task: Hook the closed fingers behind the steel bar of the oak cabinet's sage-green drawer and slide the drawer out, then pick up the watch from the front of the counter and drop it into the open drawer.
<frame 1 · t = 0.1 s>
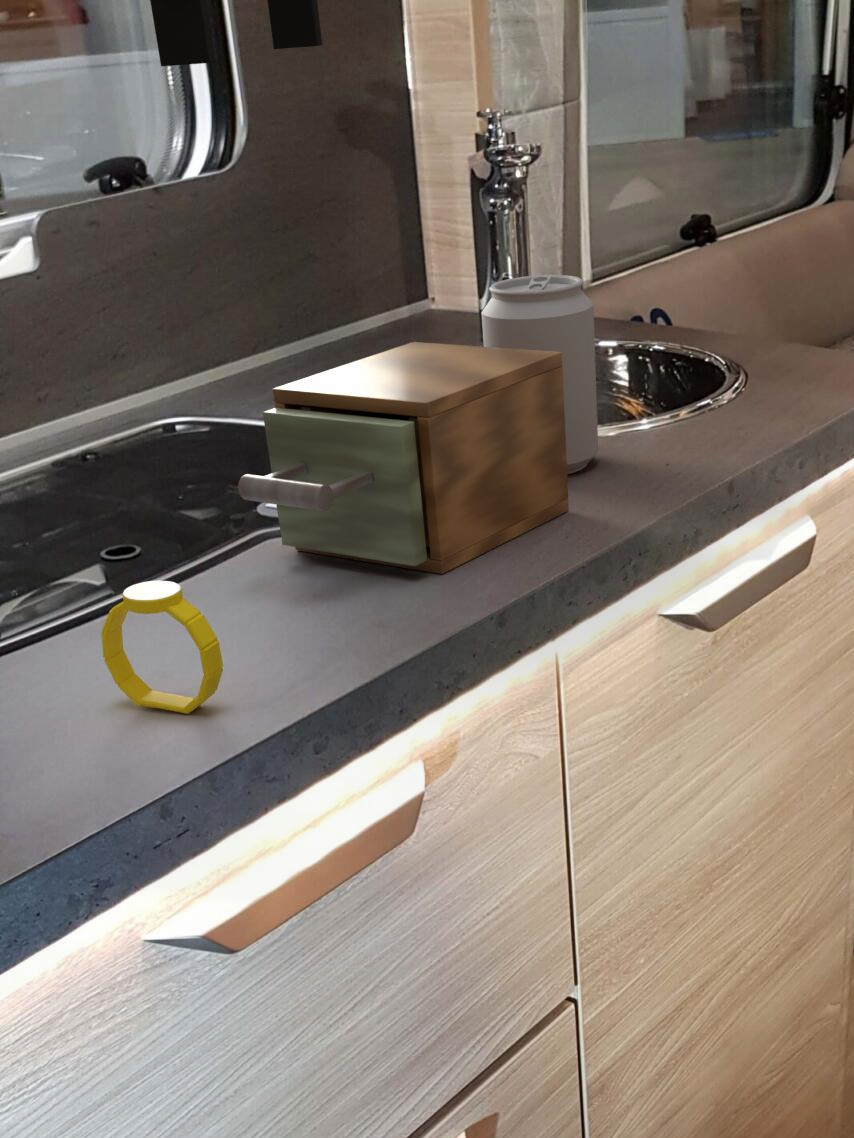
hand: (246, 56, 83), 26 cm above the worktop, tool pointing down, fingers open, 13 cm apart
can: (545, 469, 109), on the worktop
drawer: (378, 472, 92), point 5 cm above the worktop, slide at 0.5 cm
cabinet: (434, 530, 98), on the worktop
watch: (172, 710, 77), on the worktop
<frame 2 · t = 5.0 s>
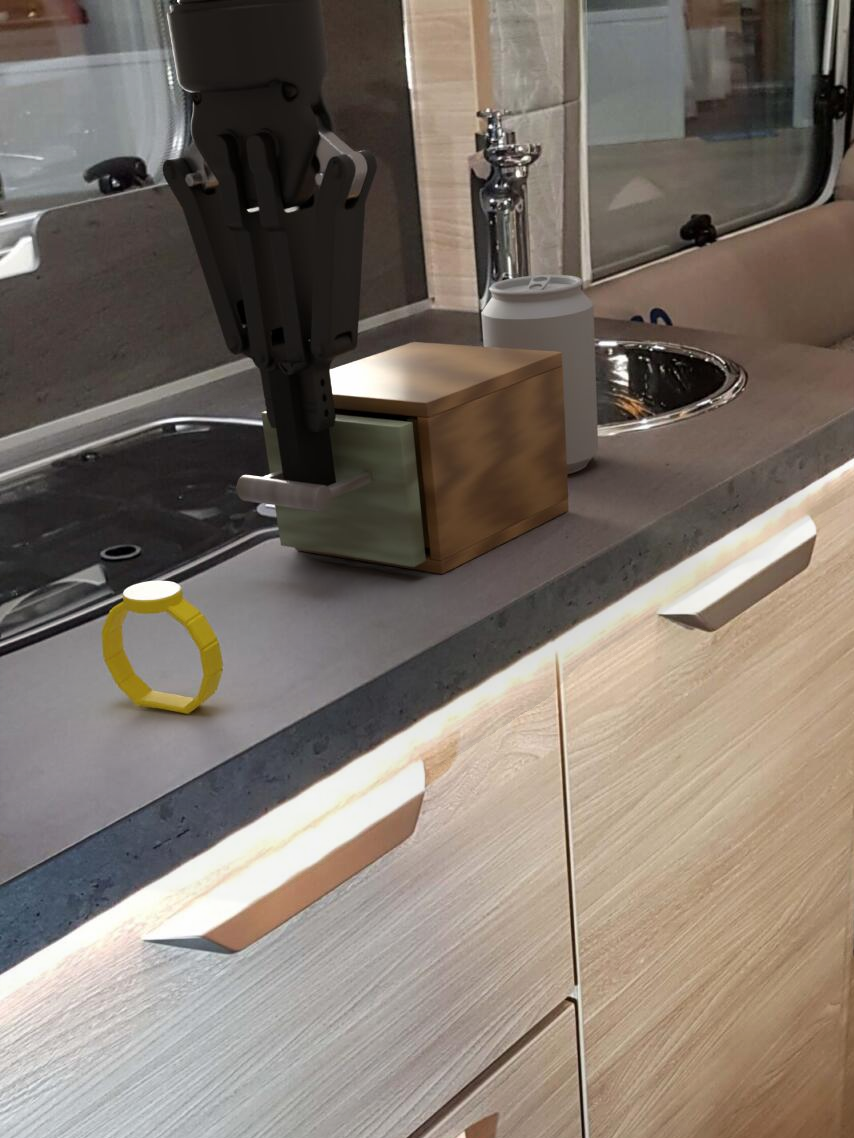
hand: (311, 488, 88), 5 cm above the worktop, tool pointing down, fingers closed
drawer: (376, 473, 92), point 5 cm above the worktop, slide at 0.6 cm, touching gripper
everything else where it was.
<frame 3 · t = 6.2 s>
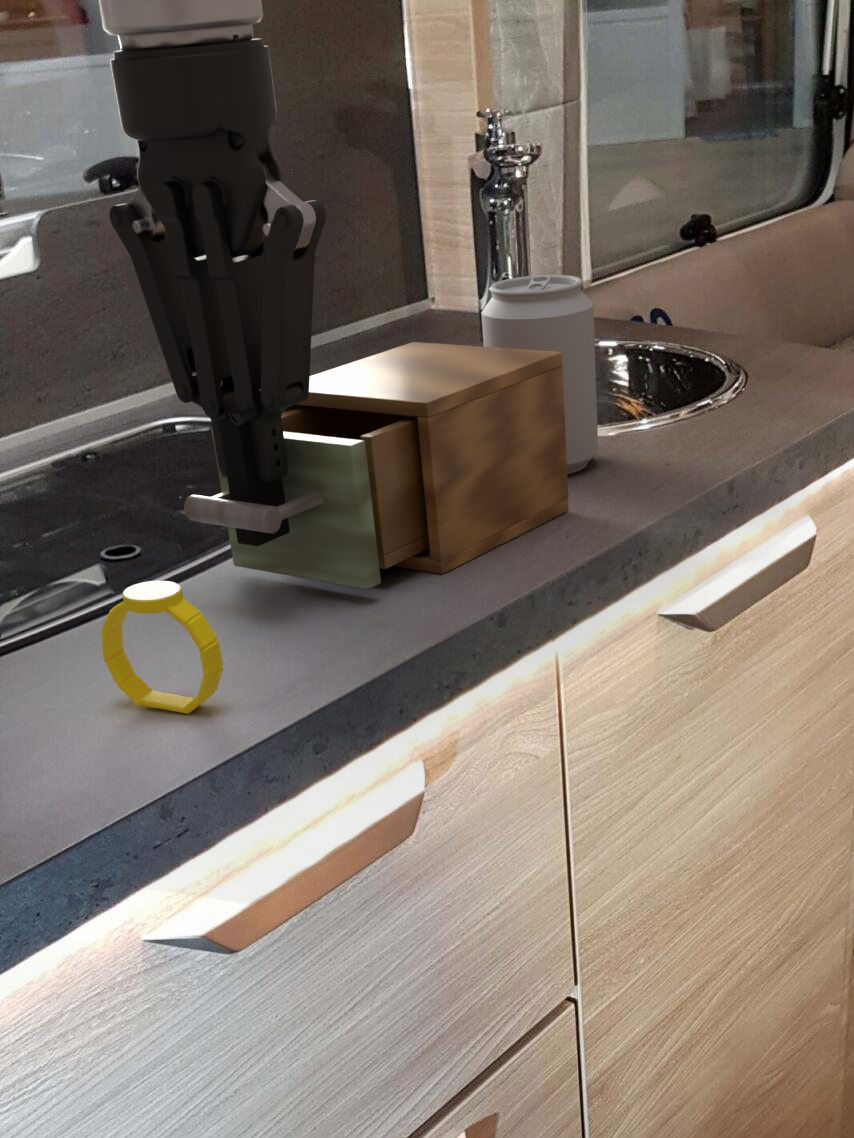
hand: (264, 537, 86), 4 cm above the worktop, tool pointing down, fingers closed
drawer: (331, 491, 89), point 5 cm above the worktop, slide at 4.8 cm, touching gripper
everything else where it was.
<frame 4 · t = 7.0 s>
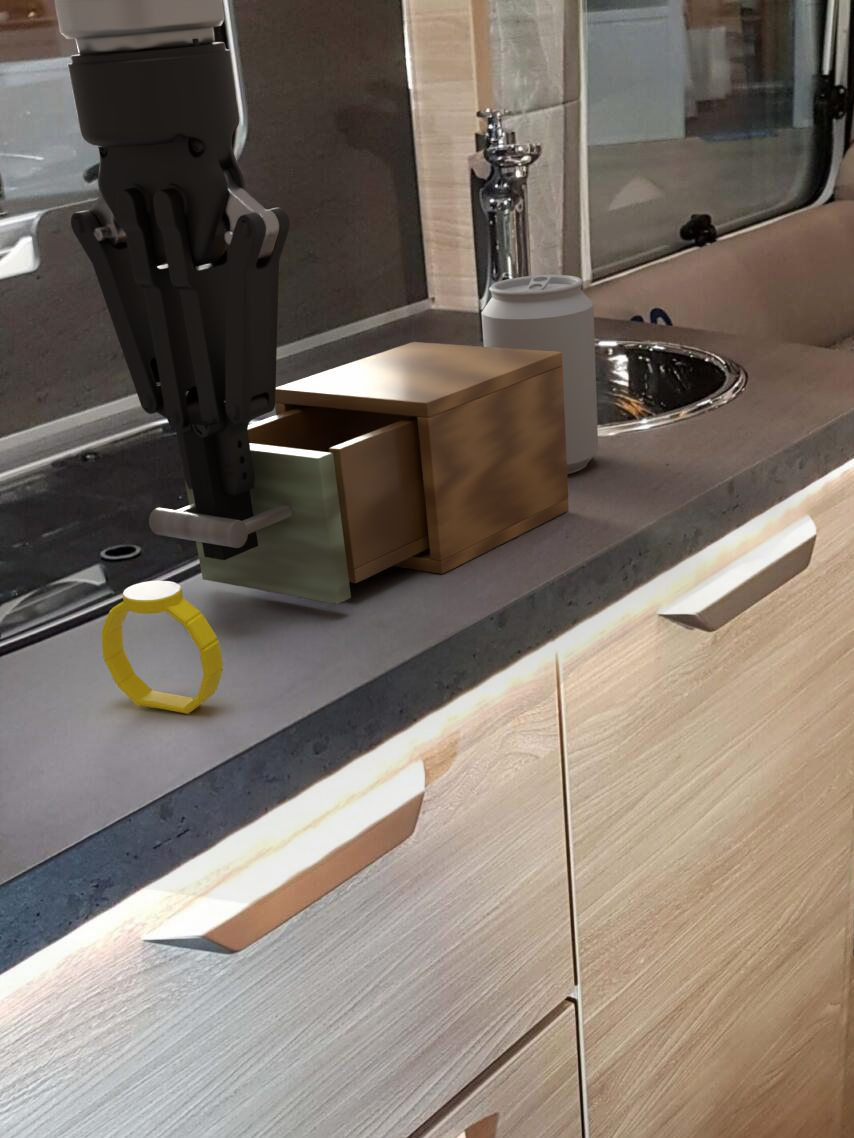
hand: (231, 550, 84), 4 cm above the worktop, tool pointing down, fingers closed
drawer: (301, 504, 88), point 5 cm above the worktop, slide at 7.5 cm, touching gripper
everything else where it was.
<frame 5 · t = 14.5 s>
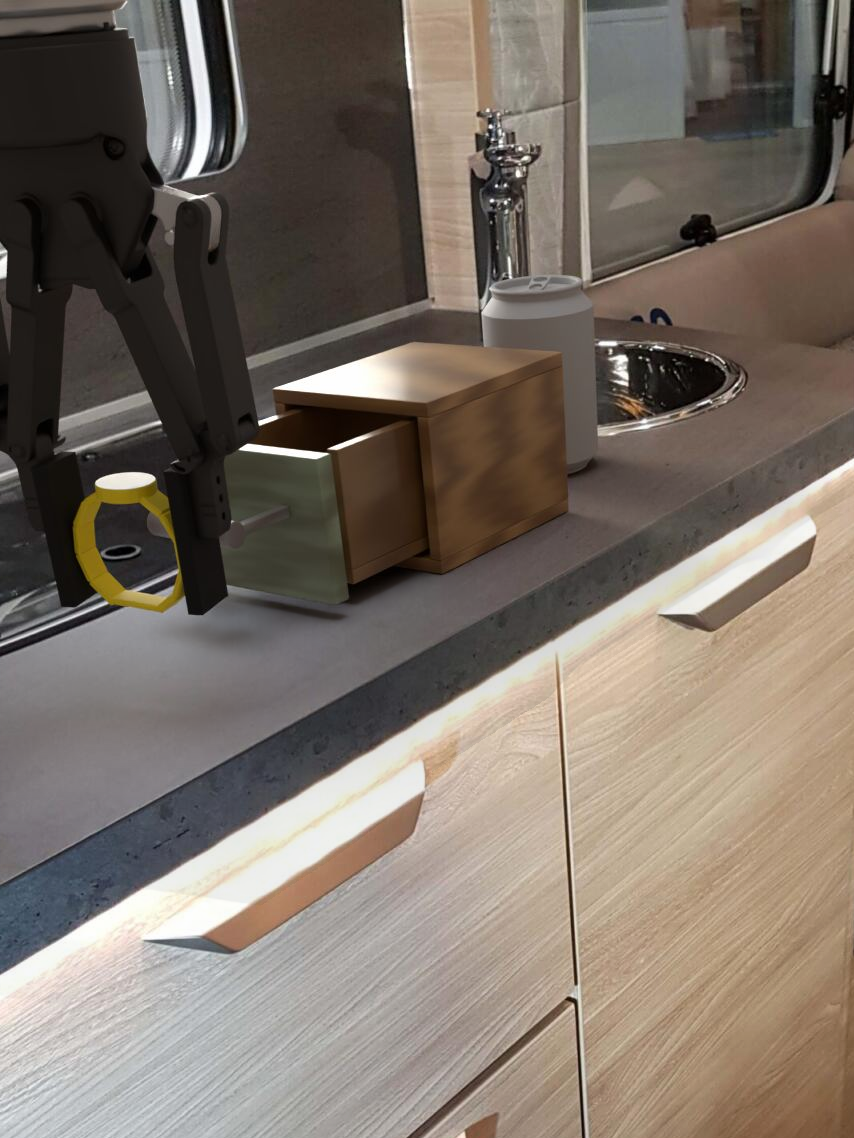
hand: (144, 600, 74), 5 cm above the worktop, tool pointing down, fingers closed on watch, 6 cm apart
drawer: (299, 505, 88), point 5 cm above the worktop, slide at 7.6 cm
watch: (146, 610, 74), point 5 cm above the worktop, touching gripper
everything else where it was.
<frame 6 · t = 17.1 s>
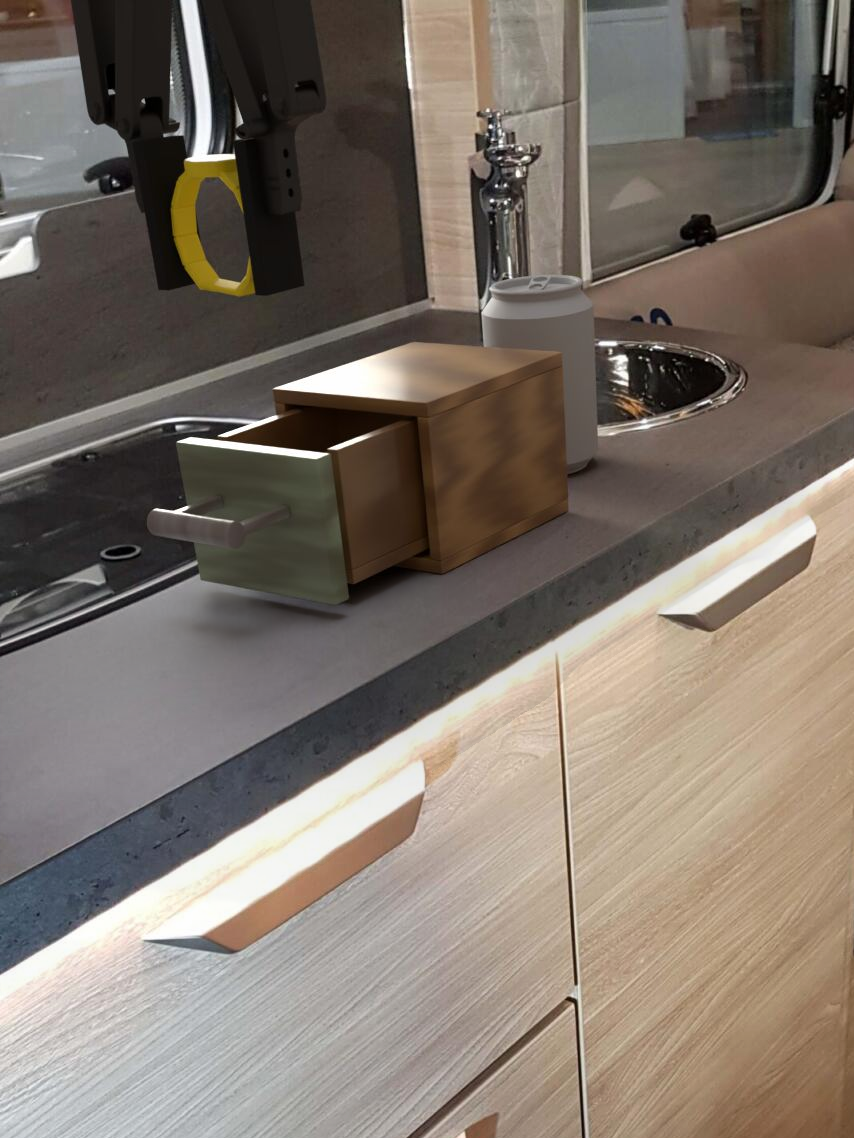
hand: (230, 286, 77), 17 cm above the worktop, tool pointing down, fingers closed on watch, 6 cm apart
watch: (231, 297, 77), point 17 cm above the worktop, touching gripper
everything else where it was.
when the fingers open (9 cm above the worktop, at t = 20.2 s): watch drops 6 cm, resting on drawer.
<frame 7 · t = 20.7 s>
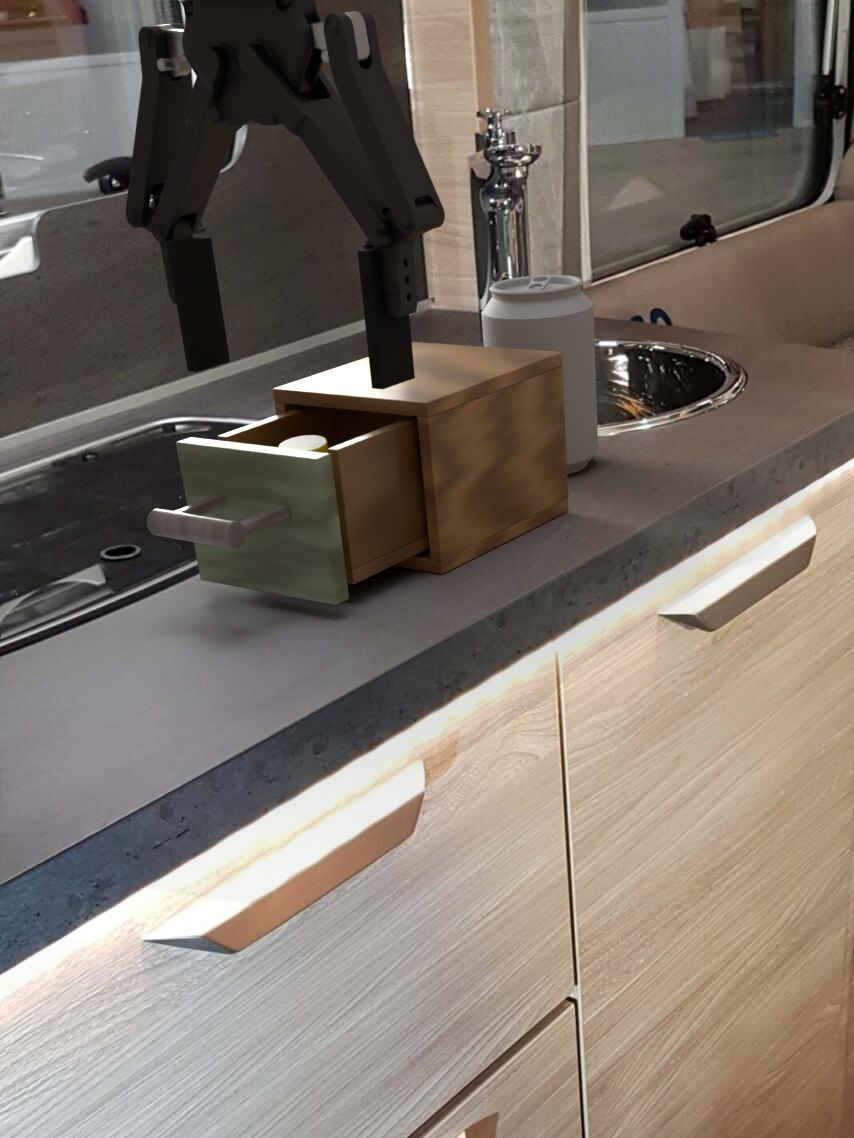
hand: (297, 375, 85), 11 cm above the worktop, tool pointing down, fingers open, 13 cm apart
drawer: (299, 505, 88), point 5 cm above the worktop, slide at 7.6 cm, touching watch
watch: (321, 549, 90), point 2 cm above the worktop, touching drawer
everything else where it was.
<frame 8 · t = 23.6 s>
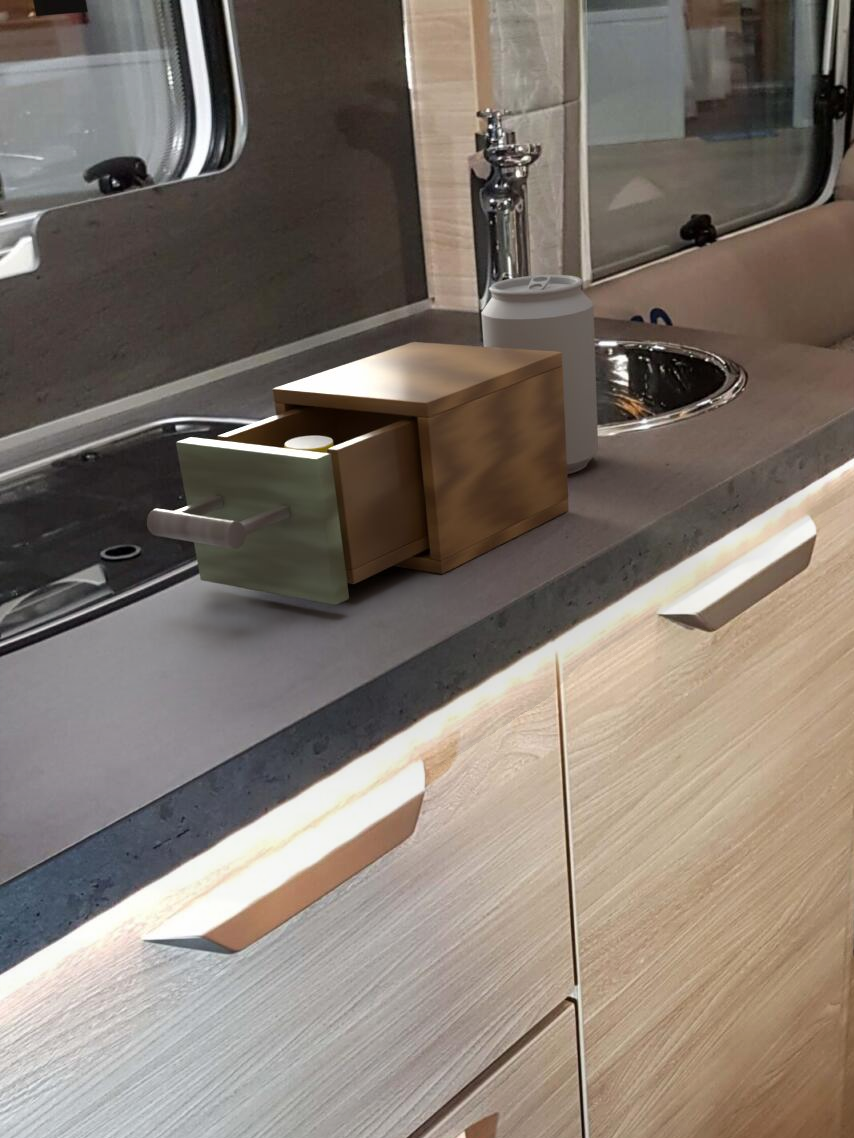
hand: (158, 7, 73), 29 cm above the worktop, tool pointing down, fingers open, 13 cm apart
nothing on the worktop moved.
at the end: drawer slide at 7.6 cm; watch inside the target area in the drawer (0.3 cm from its centre), point 1.8 cm above the cabinet's base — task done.
